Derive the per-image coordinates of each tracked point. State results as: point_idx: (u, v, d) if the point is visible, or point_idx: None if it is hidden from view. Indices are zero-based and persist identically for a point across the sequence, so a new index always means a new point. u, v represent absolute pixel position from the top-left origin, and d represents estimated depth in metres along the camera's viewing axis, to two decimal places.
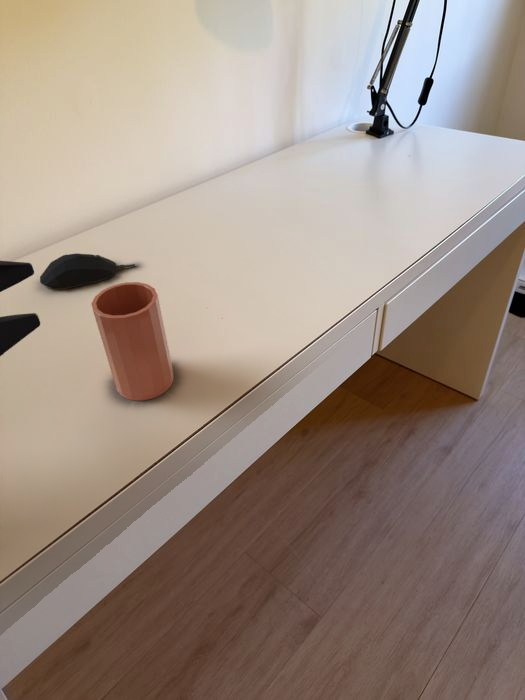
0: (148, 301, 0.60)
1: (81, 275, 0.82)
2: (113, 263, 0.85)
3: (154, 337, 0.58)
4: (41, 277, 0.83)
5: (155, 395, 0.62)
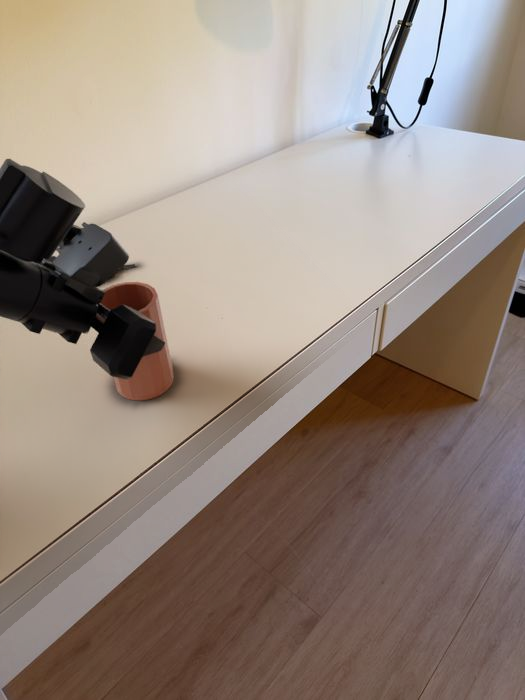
0: (148, 301, 0.60)
1: None
2: None
3: None
4: None
5: (155, 395, 0.62)
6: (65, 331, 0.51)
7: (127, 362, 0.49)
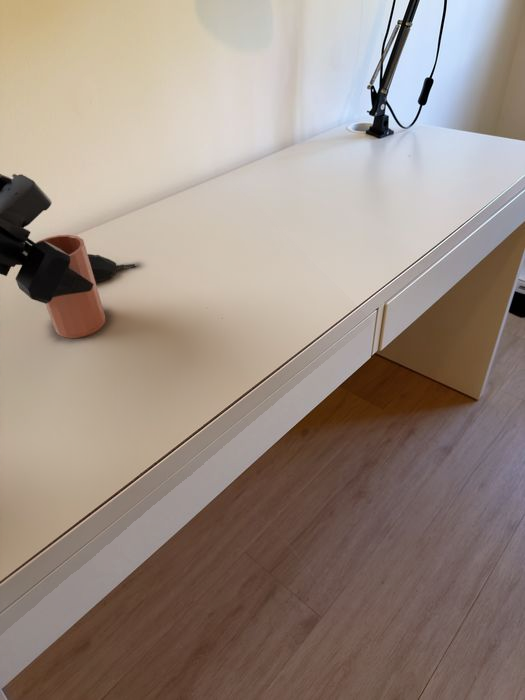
0: None
1: None
2: (113, 263, 0.85)
3: None
4: None
5: (86, 333, 0.72)
6: None
7: (44, 287, 0.58)
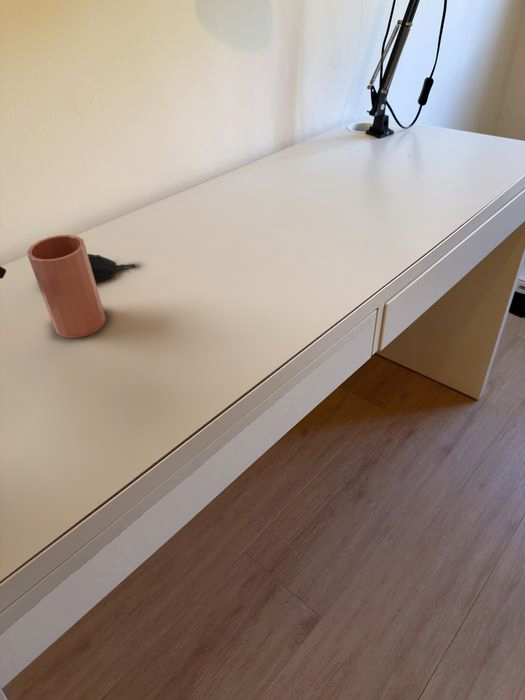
0: None
1: None
2: (113, 263, 0.85)
3: (82, 280, 0.68)
4: None
5: (86, 333, 0.72)
6: None
7: None
